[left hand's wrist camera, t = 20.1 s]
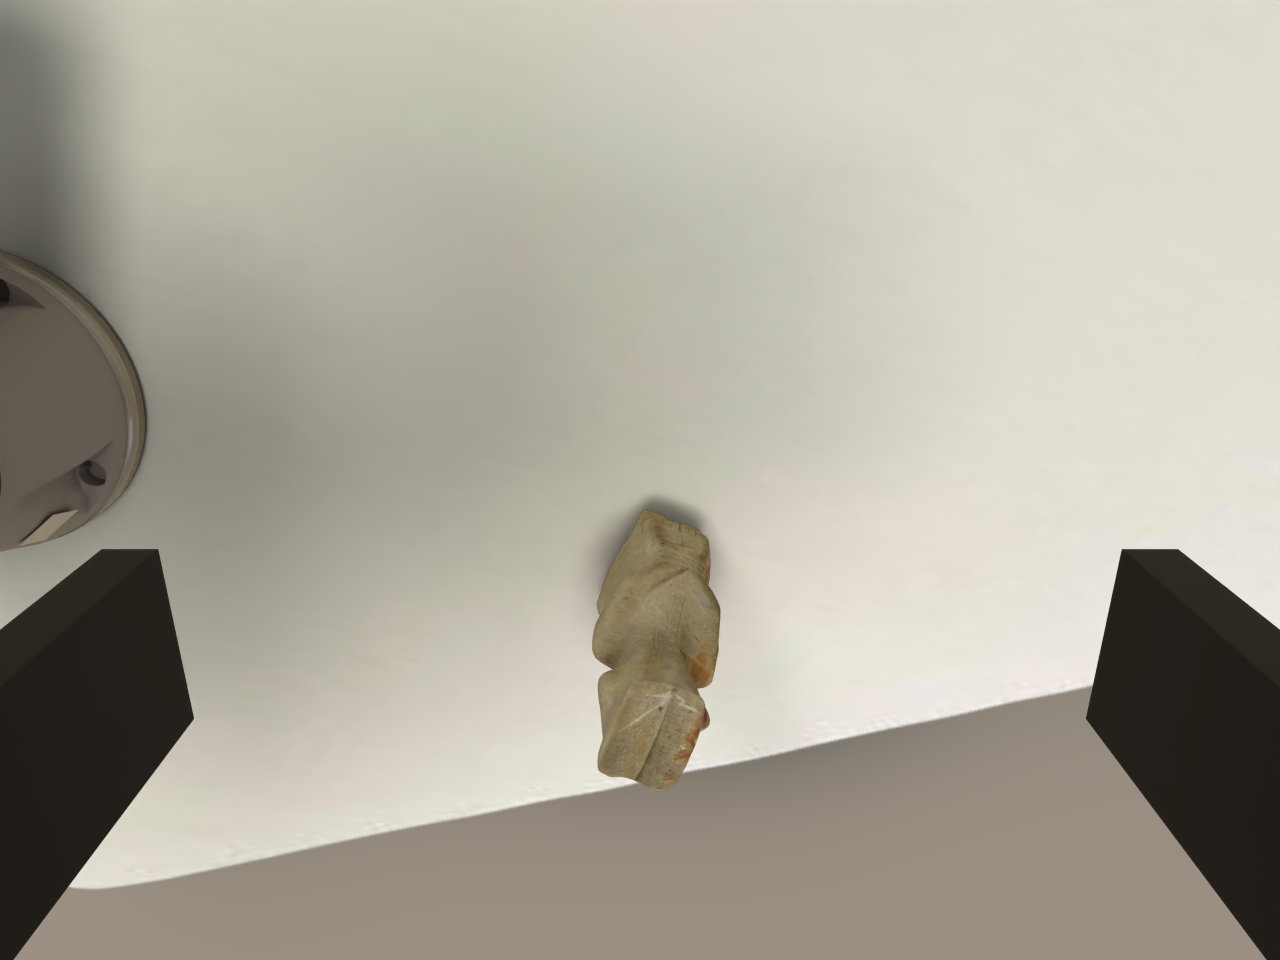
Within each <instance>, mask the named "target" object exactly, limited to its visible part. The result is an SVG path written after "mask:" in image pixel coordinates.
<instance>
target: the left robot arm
mask: <svg viewBox="0 0 1280 960" xmlns="http://www.w3.org/2000/svg"><path fill="white" fill-rule="evenodd" d="M144 433H145V414H144V407H143V400H142V395H141V391H140V387H139V384H138V381H137V378H136V375H135V372H134V369H133V367H132V365H131V363H130V360H129V358H128V356H127V354H126V352H125V351H124V349H123V347H122V345H121V343H120V342H119V340H118V339H117V337H116V336H115V334H114V333H113V331H112V330H111V329H110V327H109V326H108V325H107V323H106V322H105V321H104V320H103V318H102V317H101V316H100V315H99V314H98V313H97V312H96V311H95V310H94V308H93V307H92V306H91V305H90V304H89V303H88V302H87V301H85V300H84V299H83V298H82V297H81V296H80V295H79V294H78V293H77V292H75V291H74V290H73V289H72V288H70V287H69V286H68V285H67V284H65V283H64V282H63V281H61V280H60V279H58V278H57V277H55V276H54V275H52V274H51V273H49V272H47V271H45V270H44V269H42V268H40V267H38V266H36V265H35V264H32V263H30V262H28V261H26V260H24V259H21V258H19V257H16V256H14V255H11V254H8V253H5V252H2V251H0V551H5V550H10V549H15V548H20V547H25V546H31V545H35V544H39V543H43V542H46V541H49V540H52V539H55V538H58V537H61V536H63V535H66V534H68V533H70V532H72V531H74V530H76V529H77V528H79V527H81V526H82V525H84V524H86V523H87V522H88V521H90V520H91V519H93V518H94V517H95V516H97V515H98V514H100V513H101V512H102V511H104V510H105V509H106V508H107V507H109V506H110V505H111V504H112V503H113V502H114V501H115V500H116V499H117V498H118V497H119V496H120V495H121V493H122V492H123V491H124V490H125V488H126V487H127V485H128V484H129V482H130V480H131V479H132V477H133V475H134V473H135V471H136V468H137V466H138V463H139V460H140V457H141V454H142V448H143V443H144ZM193 719H194V716H193V711H192V707H191V702H190V697H189V693H188V688H187V683H186V678H185V674H184V669H183V664H182V660H181V655H180V650H179V645H178V641H177V636H176V631H175V627H174V622H173V617H172V612H171V608H170V603H169V598H168V594H167V589H166V584H165V579H164V575H163V570H162V565H161V561H160V556H159V551H158V549H102V550H100V551H99V552H98V553H97V554H95V555H94V556H93V557H92V558H90V559H89V560H88V561H86V562H85V563H84V564H83V565H81V566H80V567H79V568H78V569H76V570H75V571H74V572H73V573H71V574H70V575H69V576H68V577H66V578H65V579H64V580H62V581H61V582H60V583H59V584H57V585H56V586H55V587H54V588H52V589H51V590H50V591H49V592H47V593H46V594H45V595H44V596H42V597H41V598H40V599H38V600H37V601H36V602H35V603H33V604H32V605H31V606H30V607H28V608H27V609H26V610H25V611H23V612H22V613H21V614H19V615H18V616H17V617H16V618H14V619H13V620H12V621H11V622H9V623H8V624H7V625H6V626H4V627H3V628H2V629H1V630H0V960H14V958H15V957H16V956H17V954H18V953H19V952H20V950H21V949H22V947H23V946H24V945H25V944H26V942H27V941H28V940H29V938H30V937H31V936H32V934H33V933H34V932H35V930H36V929H37V928H38V926H39V925H40V924H41V922H42V921H43V920H44V918H45V917H46V916H47V914H48V913H49V911H50V910H51V909H52V908H53V906H54V905H55V903H56V902H57V901H58V900H59V898H60V897H61V895H62V894H63V893H64V892H65V890H66V889H67V888H68V886H69V885H70V884H71V882H72V881H73V880H74V878H75V877H76V876H77V874H78V873H79V872H80V870H81V869H82V868H83V866H84V865H85V864H86V862H87V861H88V860H89V858H90V857H91V856H92V854H93V853H94V852H95V850H96V849H97V848H98V846H99V845H100V844H101V842H102V841H103V840H104V838H105V837H106V836H107V834H108V833H109V832H110V830H111V829H112V827H113V826H114V825H115V823H116V822H117V821H118V819H119V818H120V817H121V815H122V814H123V813H124V811H125V810H126V809H127V807H128V806H129V805H130V803H131V802H132V801H133V799H134V798H135V797H136V795H137V794H138V793H139V791H140V790H141V789H142V787H143V786H144V785H145V783H146V782H147V781H148V779H149V778H150V777H151V775H152V774H153V773H154V771H155V770H156V769H157V767H158V766H159V765H160V763H161V762H162V761H163V759H164V758H165V757H166V755H167V754H168V753H169V751H170V750H171V749H172V747H173V746H174V745H175V743H176V742H177V741H178V739H179V738H180V737H181V735H182V734H183V733H184V731H185V730H186V729H187V727H188V726H189V725H190V723H191V722H192V721H193ZM1086 719H1087V721H1088V722H1089V723H1090V725H1091V726H1092V727H1093V729H1094V730H1095V731H1096V733H1097V734H1098V735H1099V737H1100V738H1101V739H1102V741H1103V742H1104V743H1105V745H1106V746H1107V747H1108V749H1109V750H1110V751H1111V753H1112V754H1113V755H1114V757H1115V758H1116V759H1117V761H1118V762H1119V763H1120V765H1121V766H1122V767H1123V769H1124V770H1125V771H1126V773H1127V774H1128V775H1129V777H1130V778H1131V779H1132V781H1133V782H1134V783H1135V785H1136V786H1137V787H1138V789H1139V790H1140V791H1141V793H1142V794H1143V795H1144V797H1145V798H1146V799H1147V801H1148V802H1149V803H1150V805H1151V806H1152V807H1153V809H1154V810H1155V811H1156V813H1157V814H1158V815H1159V817H1160V818H1161V819H1162V821H1163V822H1164V823H1165V825H1166V826H1167V827H1168V829H1169V830H1170V832H1171V833H1172V834H1173V836H1174V837H1175V838H1176V839H1177V841H1178V842H1179V843H1180V845H1181V846H1182V848H1183V849H1184V850H1185V851H1186V853H1187V854H1188V855H1189V857H1190V858H1191V860H1192V861H1193V862H1194V864H1195V865H1196V866H1197V867H1198V869H1199V870H1200V872H1201V873H1202V874H1203V876H1204V877H1205V878H1206V880H1207V881H1208V882H1209V884H1210V885H1211V886H1212V888H1213V889H1214V890H1215V892H1216V893H1217V894H1218V896H1219V897H1220V898H1221V900H1222V901H1223V902H1224V904H1225V905H1226V906H1227V908H1228V909H1229V910H1230V912H1231V913H1232V914H1233V916H1234V917H1235V918H1236V920H1237V921H1238V922H1239V923H1240V925H1241V926H1242V928H1243V929H1244V930H1245V932H1246V933H1247V934H1248V936H1249V937H1250V938H1251V940H1252V941H1253V942H1254V944H1255V945H1256V946H1257V948H1258V949H1259V950H1260V952H1261V953H1262V954H1263V955H1264V957H1265V958H1266V959H1267V960H1280V630H1279V629H1278V628H1277V627H1276V626H1274V625H1273V624H1272V623H1271V622H1269V621H1268V620H1267V619H1266V618H1264V617H1263V616H1262V615H1261V614H1259V613H1258V612H1257V611H1255V610H1254V609H1253V608H1252V607H1250V606H1249V605H1248V604H1247V603H1245V602H1244V601H1243V600H1242V599H1240V598H1239V597H1238V596H1236V595H1235V594H1234V593H1233V592H1231V591H1230V590H1229V589H1228V588H1226V587H1225V586H1224V585H1223V584H1221V583H1220V582H1219V581H1218V580H1216V579H1215V578H1214V577H1212V576H1211V575H1210V574H1209V573H1207V572H1206V571H1205V570H1204V569H1202V568H1201V567H1200V566H1199V565H1197V564H1196V563H1195V562H1194V561H1192V560H1191V559H1190V558H1188V557H1187V556H1186V555H1185V554H1183V553H1182V552H1181V551H1180V550H1178V549H1122V551H1121V556H1120V561H1119V565H1118V570H1117V575H1116V579H1115V584H1114V589H1113V594H1112V598H1111V603H1110V608H1109V612H1108V617H1107V622H1106V627H1105V631H1104V636H1103V641H1102V645H1101V650H1100V655H1099V660H1098V664H1097V669H1096V674H1095V678H1094V683H1093V688H1092V693H1091V697H1090V702H1089V707H1088V711H1087V716H1086Z"/></svg>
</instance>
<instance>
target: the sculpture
mask: <svg viewBox="0 0 1280 960" xmlns="http://www.w3.org/2000/svg"><path fill="white" fill-rule="evenodd" d="M709 578H710V549H709V543H708V539H707V537H706V536H705V535H703V534H702V533H701V532H700V531H699V530H698V529H696V528H694V527H692V526H690V525H688V524H685V523H682V524H678V523H675V522H673V521H669V520H666V518H665V517H664V516H663V515H661V514H658V513H654V512H650V511H643V512H642V514H641V515H640V517H639V518H638V520H637V523H636V526H635V528H634V530H633V531H632V533H631V535H630V536H629V538H628V539H627V540H626V542H625V543H624V544H623V546H622V547H621V549H620V551H619V553H618V555H617V557H616V558H615V561H614V563H613V565H612V567H611V569H610V571H609V573H608V575H607V578H606V580H605V582H604V584H603V587H602V590H601V592H600V595H599V598H598V601H597V609H598V613H599V615H600V616H599V618H598V620H597V623H596V625H595V628H594V633H593V640H592V650H593V654H594V656H595V658H596V659H597V660H599V661H600V662H601V663H603V664H605V665H606V666H608V667H610V668H611V669H613V670H610V671H608V672H605V673H604V674H603V675H601V677H600V678H599V682H598V697H599V704H600V711H601V722H602V733H603V740H602V743H601V746H600V749H599V753H598V770H599V771H600V772H601V773H603V774H605V775H607V776H610V777H625V778H629V779H632V780H634V781H636V782H638V783H640V784H642V785H644V786H646V787H649V788H651V789H654V790H659V791H667V790H670V789H671V788H672V787H673V786H674V785H675V784H676V783H677V781H678V780H679V778H680V776H681V774H682V772H683V771H684V769H685V767H686V765H687V763H688V760H689V758H690V755H691V753H692V751H693V749H694V747H695V744H696V742H697V739H698V736H699V733H700V731H702V730H704V729H706V728H707V727H708V726H709V723H710V718H709V715H708V712H707V710H706V708H705V703H704V701H703V699H702V698H701V697H700V695H699V692H698V690H697V688H704V687H706V686H708V685H709V684H710V683H711V682H712V680H713V676H714V671H715V666H716V660H717V656H718V638H719V625H720V606H719V604H718V601H717V599H716V597H715V595H714V593H713V592H712V590H711V589H710V587H709V586H708V585H709Z"/></svg>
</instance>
